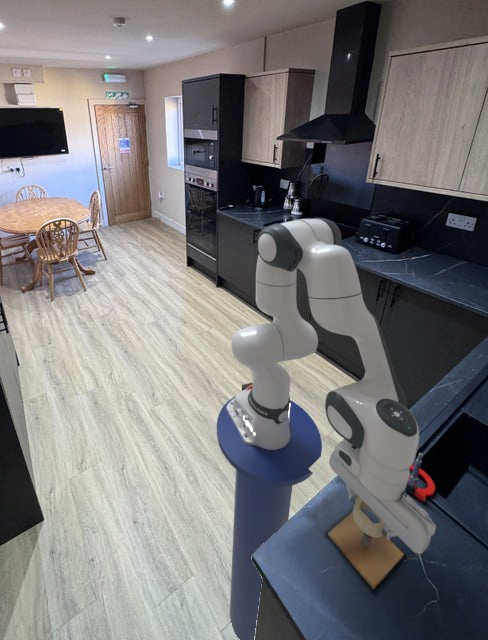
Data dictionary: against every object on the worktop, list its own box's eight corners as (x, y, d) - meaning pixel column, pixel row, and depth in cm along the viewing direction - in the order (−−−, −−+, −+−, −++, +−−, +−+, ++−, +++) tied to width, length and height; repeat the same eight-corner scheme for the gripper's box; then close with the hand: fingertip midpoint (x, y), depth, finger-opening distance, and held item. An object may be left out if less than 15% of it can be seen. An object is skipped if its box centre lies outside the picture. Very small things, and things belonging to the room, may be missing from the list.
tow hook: (403, 460, 93) (390, 480, 87) (413, 425, 89) (400, 443, 83) (438, 484, 86) (427, 507, 81) (450, 447, 83) (440, 468, 77)
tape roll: (346, 514, 72) (348, 505, 71) (364, 498, 75) (366, 490, 74) (373, 544, 67) (376, 535, 66) (391, 526, 70) (394, 517, 69)
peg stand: (327, 535, 75) (330, 520, 74) (357, 509, 80) (360, 494, 79) (373, 590, 66) (377, 574, 65) (403, 556, 71) (407, 541, 70)
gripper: (446, 513, 59) (429, 559, 64) (347, 428, 76) (338, 469, 81) (428, 533, 56) (411, 580, 61) (329, 440, 73) (321, 482, 78)
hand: (369, 516), depth 71 cm, fingers closed on tape roll, 6 cm apart
